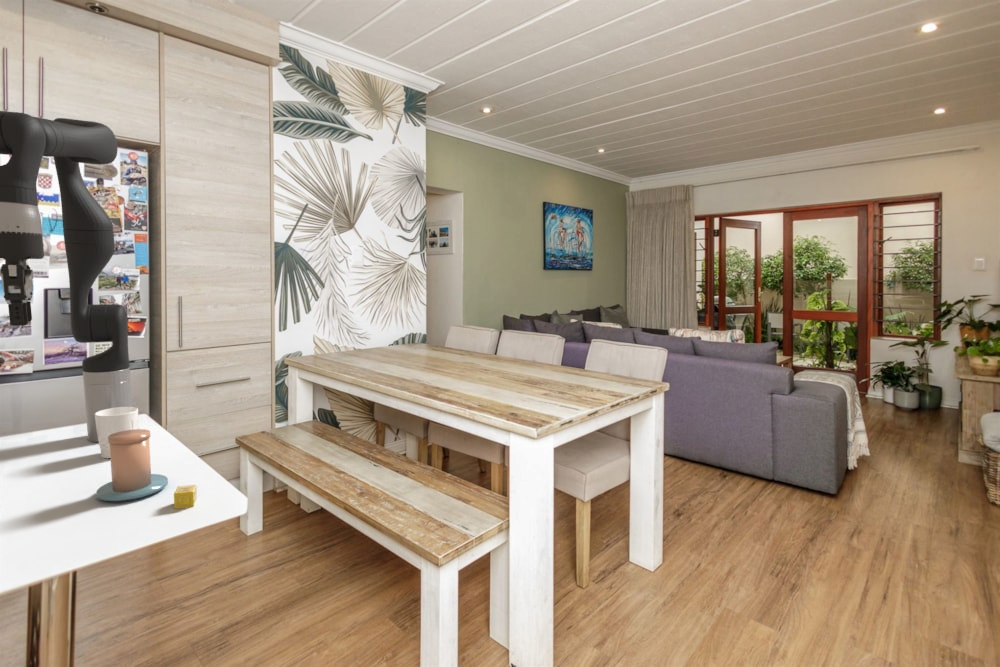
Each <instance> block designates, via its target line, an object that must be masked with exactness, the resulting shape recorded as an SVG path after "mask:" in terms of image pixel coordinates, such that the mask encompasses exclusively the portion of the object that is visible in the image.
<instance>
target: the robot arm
mask: <svg viewBox="0 0 1000 667" xmlns="http://www.w3.org/2000/svg"><path fill="white" fill-rule="evenodd" d="M0 155H6V156H7V155H9V156H10V158H9V159H8V161H7V163H5V164H3V165H0V259H3V260H4V263H5V264H4V263H2V264H1V266H0V279H1V284H2V285H1V288H2V291H3V292H2V293H3V294H4V295H3V299H5V302H6V304H7V306H8V315H9V316H8V317H9V318H8V319H9V324H10V325H11V326H12V327H17V326H18V327H21V326H23V327H24V326H26V325H28V323H29V322H31V321H32V320H33V316H32V315H33V314H32V304H31V301H32V299H33V295H34V294H33V291H34V283H33V280H34V271H33V269H31V266H30V265H29V264H27V260H42V259H44V258H45V250H44V240H43V239H44V237H43V227H42V218H41V214H40V211H39V210H40V209H39V203H38V200H39V199H38V192H37V191H38V190H37V183H38V182H37V181H38V175H39V172H40V167H41V163H42V160H43V157H49V158H51V157H53V162H54V165H55V167H54V168H55V171H56V175H57V183H58V186H59V195H60V205H61V216H62V217H61V218H62V231H63V232H62V233H63V242H64V248H65V249H64V250H65V256H66V263H67V270H68V277H69V279H68V280H69V281H68V282H69V306H70V307H69V311H70V312H69V313H70V314H69V315H70V329H71V333H72V337H73V339H74V340H75V341H76V343H82V344H83V343H85V344H86V343H87V344H89V343H91V344H92V343H105V342H106V343H108V342H110V343H111V347H109V348H108V349H106V350H104V351H102V352H100V353H97V354H95V355H91V356H88V357H86V358H83V360H82V362H81V364H82V367H81V368H82V380H83V389H84V390H83V393H84V402H85V415H86V428H87V439H88V441H90V442H94V443H95V442H97V443H99V441H98V435H97V428H96V421H95V413H96V412H98V411H101V410H105V409H110V408H117V407H133V398H132V396H133V395H132V381H131V367H130V356H129V317H128V313H127V310H126V307H125V306H124V305H122V304H115V303H114V304H111V303H110V304H106V303H105V304H104V303H103V304H88V298H89V294H90V291H91V289H92V286H94V283H95V282H96V280H97V278H98V277H99V276H100V274H101V273H102V272H103V270H104V269H105V268H106V266H107V265H108V264H109V262H110V260H111V259H112V257H113V256H114V253H115V249H116V247H115V233H114V225H113V224H114V223H113V222H112V220H111V218H110V216H109V214H108V213H107V212H106V211H105V209H104V208H103V207H102V206H101V204H100V203H99V202H98V200H97V199H96V198H95V197H94V196H93V194H92V193H91V192H90V190H89V189H88V188H87V185H86V184H85V181H84V179H83V177H82V174H81V169H80V163H81V164H90V165H91V164H92V165H109V164H111V163H113V162H114V161H115V160H116V158H117V155H118V142H117V138H116V136H115V133H114V131H113V130H112V129H111V128H110V127H109V126H107V125H105V124H103V123H101V122H96V121H90V120H82V119H80V120H79V119H72V118H65V117H63V118H62V117H56V118H55V119H53V120H51V119H47V118H42V117H37V116H32V115H30V114H29V113H25V112H24V113H23V112H18V111H17V112H15V111H3V110H0Z"/></svg>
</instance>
